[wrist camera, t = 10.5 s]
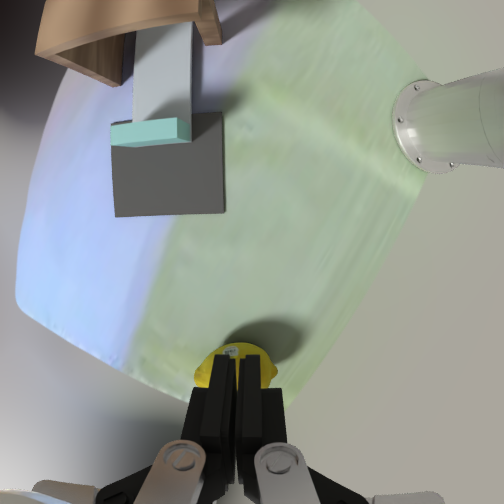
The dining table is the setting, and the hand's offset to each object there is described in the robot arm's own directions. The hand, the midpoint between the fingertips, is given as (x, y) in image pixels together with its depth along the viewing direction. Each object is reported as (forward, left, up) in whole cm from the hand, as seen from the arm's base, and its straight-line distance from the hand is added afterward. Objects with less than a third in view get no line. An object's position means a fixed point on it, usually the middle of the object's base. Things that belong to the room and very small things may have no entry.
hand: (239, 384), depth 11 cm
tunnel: (+10, -24, -27) cm, 38 cm away
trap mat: (+10, -8, -27) cm, 30 cm away
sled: (+10, -22, -27) cm, 36 cm away
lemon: (+2, +18, -27) cm, 33 cm away
